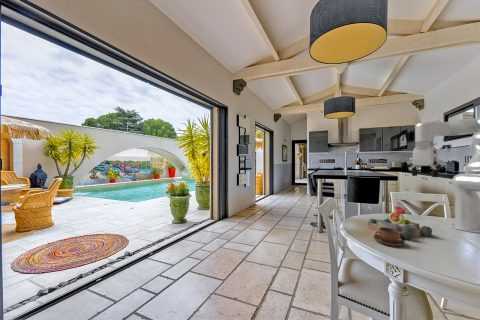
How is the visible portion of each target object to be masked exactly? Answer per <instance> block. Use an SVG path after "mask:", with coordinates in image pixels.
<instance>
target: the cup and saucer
mask: <svg viewBox="0 0 480 320" xmlns="http://www.w3.org/2000/svg"><path fill="white" fill-rule="evenodd" d="M373 239H374V240H376V241H377V242H378V243H381V244H384V245H388V246H392V247H400V246H403V245H405V244H406V241H405V239H401V238H398V231H397V230H395V229H392V228H386V227H381V228H379V231H375V233H374V235H373Z"/></svg>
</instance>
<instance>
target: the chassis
mask: <svg viewBox="0 0 480 320" xmlns="http://www.w3.org/2000/svg"><path fill="white" fill-rule="evenodd" d="M399 220H400V219H399ZM396 222H398V221H396ZM367 224H368V226H369V230H371V231H375V232H377V231H379V228H381V227H386V228H392V229H395V230H397V231H398V238H401V239H403V240H407V241H410V240H411V239H412V238H416V237H423V236H424V237H426V238H430V237H431V236H432V233H433V230H432V228H431V227H430V226H428V225H423V226H420V223H417V222H413V221H410V223H409V224H407V225H406V224H405V225H402V224H399V225H397V224H395V225H394V224H392V222H391V221H390V219H389V216H388V217H387V218H381V219H375V218H370V219H369V220H368V223H367Z"/></svg>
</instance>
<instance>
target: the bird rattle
mask: <svg viewBox="0 0 480 320" xmlns="http://www.w3.org/2000/svg"><path fill="white" fill-rule="evenodd" d="M394 209H395V211H391V212H389V215H388V217H389V219H390V221H391V222H392V224H394V225H395V224H397V225H399V224H402V225H405V224H406V225H407V224H409V223H410V222H411V220H409V219H405V216H404V215H403V214H406V211H407V209H406V208H402V207H401V206H399V205H398V206H397V205H396V206H394ZM399 219H400V220H399ZM396 221H398V222H396Z"/></svg>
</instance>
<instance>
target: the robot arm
mask: <svg viewBox="0 0 480 320" xmlns="http://www.w3.org/2000/svg"><path fill="white" fill-rule="evenodd" d="M414 134H415V135H414V144H415V145H414V146H415V147H414V148H413V151H412V158H411V159H408V160H407V161H406V164H407V165H408V167H409V168H410V169H411V177H412V176H413V177H417V176H418V169H417V168H418V167H419V166H420V167H428V166H430V167H431V168H432V170H431V175H432V176H431V177H432V178H438V177H439V170H440V169H441V168H442V167H443V165H444V164H445V163H446V162H445V160H442V159H440V158H439V157H438V151H437V147H435V146H436V145H437V142H435V140H434V138H436V137H448V136H449V137H453V136H461V135H472V134H473V135H472V136H471V139H470V140H471V143H472V145H473V149H474V153H473V155H472V157H471V158H470V159H469V161H468V162H467V164H466V166H465V169H464V171H465V173H464V172H463V173H458V174H457V173H456V174H455V175H454V176H453V177H452V179H451V180H452V186H453V190H454V218H455V219H454V223H452V224H451V227H452V229H456V230H459V231H463V232H470V233H475V234H476V233H477V234H480V196H479V194H478V193H479V192H480V117H476V118H468V119H467V118H466V119H457V120H456V119H454V120H449V121H440V122H439V121H437V122H431V121H430V122H427V121H426V122H419V123H417V124H415V126H414ZM477 192H478V193H477Z"/></svg>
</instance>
